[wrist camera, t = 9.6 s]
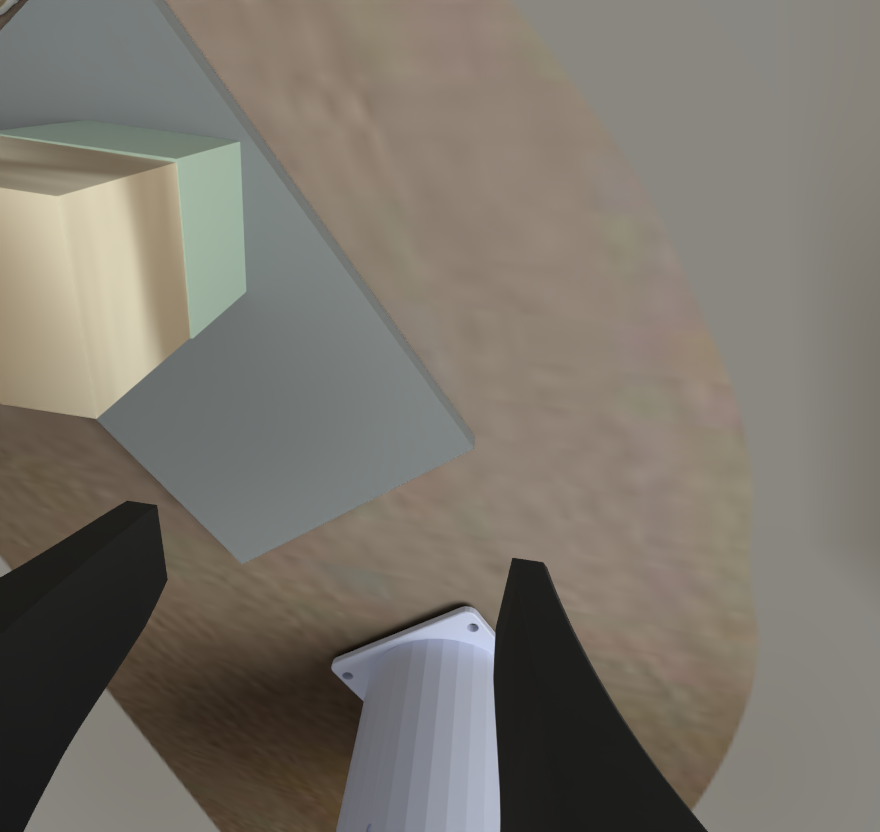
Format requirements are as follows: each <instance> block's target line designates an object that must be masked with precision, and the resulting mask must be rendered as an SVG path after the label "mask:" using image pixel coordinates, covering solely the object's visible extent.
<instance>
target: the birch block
mask: <svg viewBox="0 0 880 832" xmlns="http://www.w3.org/2000/svg"><path fill="white" fill-rule="evenodd" d="M189 338H190V328H189V315H188V303H187V290H186V278H185V265H184V253H183V240H182V228H181V216H180V203H179V191H178V178H177V166H176V162H170V161H163V160H157V159H150V158H143V157H137V156H130V155H124V154H117V153H111V152H104V151H97V150H91V149H84V148H78V147H71V146H64V145H58V144H51V143H45V142H38V141H32V140H25V139H18V138H12V137H5V136H0V404H4V405H10V406H17V407H23V408H30V409H36V410H43V411H49V412H55V413H62V414H68V415H75V416H81V417H88V418H94V419H97V418H98V417H99V416H100V415H102V414H103V413H104V412H105V411H106V410H107V409H108V408H110V407H111V406H112V405H113V404H114V403H115V402H117V401H118V400H119V399H120V398H121V397H122V396H123V395H125V394H126V393H127V392H128V391H129V390H130V389H132V388H133V387H134V386H135V385H136V384H137V383H138V382H140V381H141V380H142V379H143V378H144V377H145V376H147V375H148V374H149V373H150V372H151V371H152V370H153V369H155V368H156V367H157V366H158V365H159V364H160V363H162V362H163V361H164V360H165V359H166V358H167V357H168V356H170V355H171V354H172V353H173V352H174V351H175V350H177V349H178V348H179V347H180V346H181V345H182V344H183V343H185V342H186V341H187V340H188V339H189Z"/></svg>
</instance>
